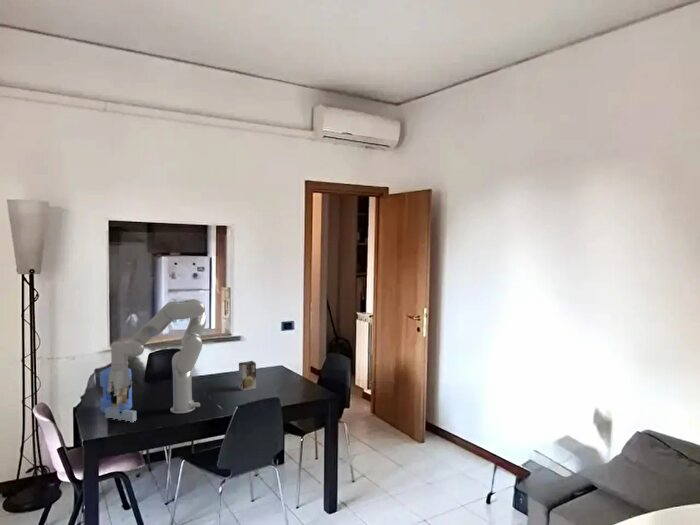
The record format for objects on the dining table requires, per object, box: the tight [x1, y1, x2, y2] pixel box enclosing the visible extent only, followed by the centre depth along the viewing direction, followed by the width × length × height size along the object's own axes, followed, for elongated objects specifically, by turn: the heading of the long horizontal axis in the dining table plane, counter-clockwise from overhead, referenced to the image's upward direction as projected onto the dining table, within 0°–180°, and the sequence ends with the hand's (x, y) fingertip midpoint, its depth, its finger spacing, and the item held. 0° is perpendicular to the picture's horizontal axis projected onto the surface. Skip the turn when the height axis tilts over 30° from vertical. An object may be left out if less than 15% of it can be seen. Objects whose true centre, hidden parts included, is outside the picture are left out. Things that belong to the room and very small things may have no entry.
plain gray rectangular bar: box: [104, 407, 138, 423], centre depth 258 cm, size 18×3×5 cm, turn 69°
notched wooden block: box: [113, 387, 127, 409], centre depth 258 cm, size 7×3×9 cm, turn 160°
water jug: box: [99, 366, 133, 414], centre depth 273 cm, size 16×16×28 cm
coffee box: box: [238, 360, 257, 392], centre depth 311 cm, size 9×6×16 cm
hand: (120, 400), depth 258 cm, fingers closed on notched wooden block, 7 cm apart
